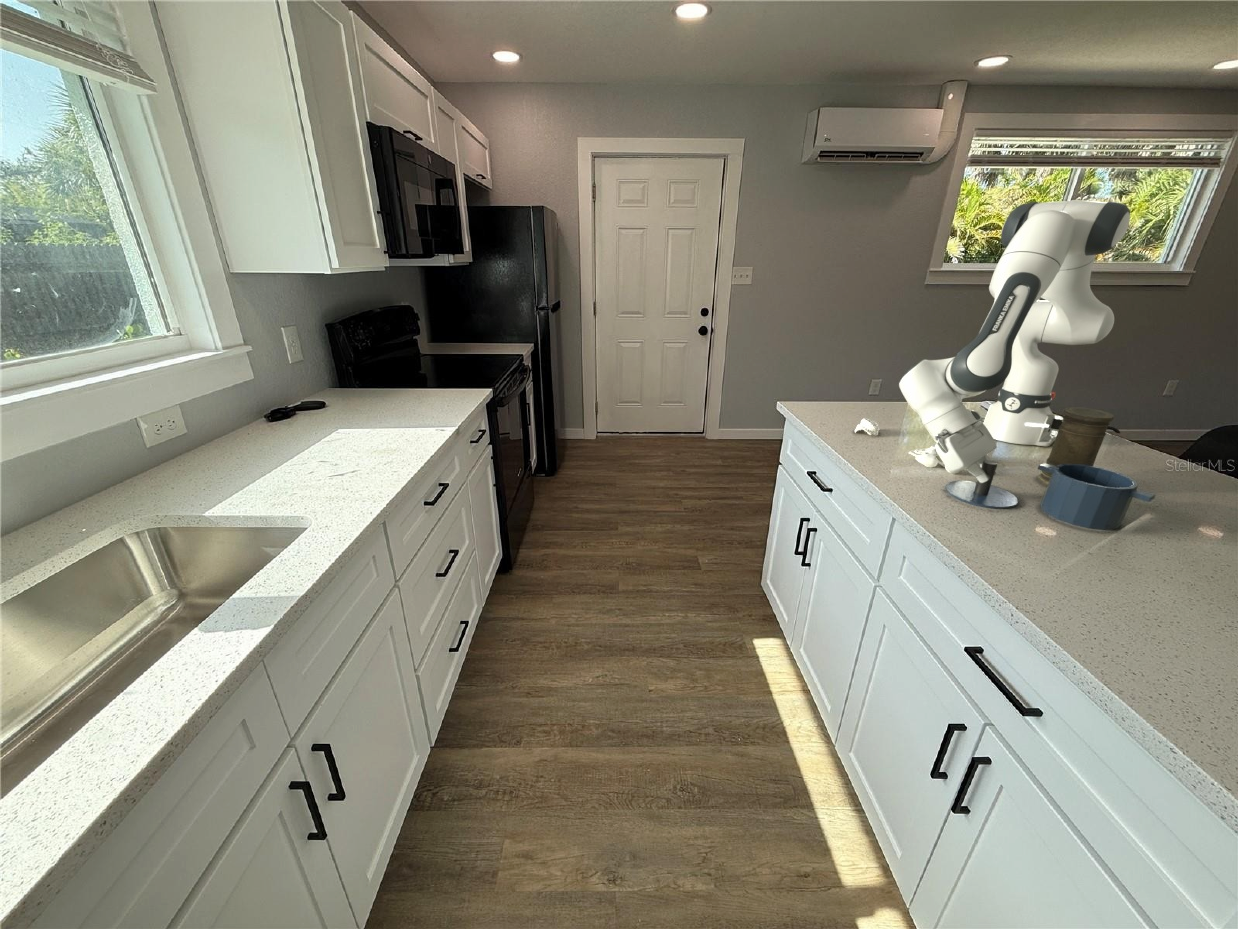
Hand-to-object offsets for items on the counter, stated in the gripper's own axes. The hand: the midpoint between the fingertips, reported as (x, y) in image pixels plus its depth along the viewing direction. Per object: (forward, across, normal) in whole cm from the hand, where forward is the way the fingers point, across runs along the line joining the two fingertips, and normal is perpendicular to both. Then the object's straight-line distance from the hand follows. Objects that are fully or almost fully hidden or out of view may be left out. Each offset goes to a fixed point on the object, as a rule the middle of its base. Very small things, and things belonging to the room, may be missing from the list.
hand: (988, 478), depth 108 cm
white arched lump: (-23, +24, +30) cm, 45 cm away
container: (+10, +23, -3) cm, 25 cm away
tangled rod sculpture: (-6, +16, +14) cm, 22 cm away
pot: (+14, +5, -8) cm, 17 cm away
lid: (+3, 0, +4) cm, 4 cm away
